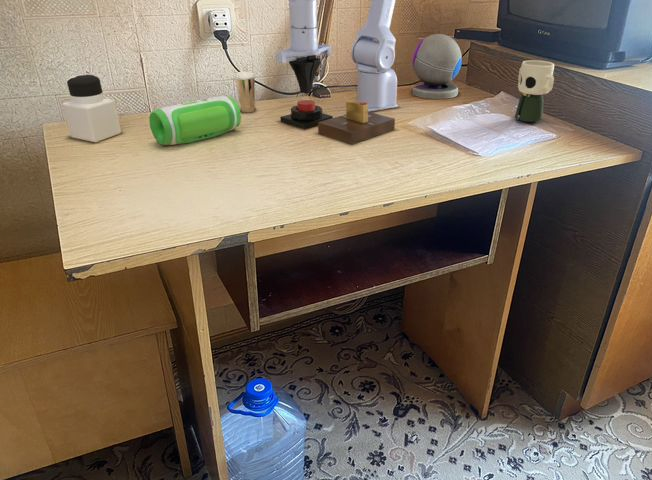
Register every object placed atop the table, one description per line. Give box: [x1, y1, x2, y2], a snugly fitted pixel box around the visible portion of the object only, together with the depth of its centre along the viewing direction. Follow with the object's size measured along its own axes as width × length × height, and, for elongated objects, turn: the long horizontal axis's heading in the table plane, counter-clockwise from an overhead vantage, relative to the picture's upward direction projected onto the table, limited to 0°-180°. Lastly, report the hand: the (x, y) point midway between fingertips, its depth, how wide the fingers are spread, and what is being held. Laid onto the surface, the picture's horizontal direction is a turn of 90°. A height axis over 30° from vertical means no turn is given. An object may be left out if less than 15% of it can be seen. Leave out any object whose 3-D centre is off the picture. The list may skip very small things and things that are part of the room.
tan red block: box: [345, 99, 368, 123], centre depth 118 cm, size 5×2×4 cm, turn 47°
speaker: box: [149, 95, 242, 146], centre depth 113 cm, size 18×7×8 cm, turn 134°
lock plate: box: [317, 111, 396, 145], centre depth 119 cm, size 14×10×3 cm
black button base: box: [280, 104, 334, 130], centre depth 125 cm, size 9×8×3 cm
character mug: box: [514, 59, 555, 123], centre depth 126 cm, size 11×7×13 cm, turn 26°
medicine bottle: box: [61, 74, 122, 143], centre depth 112 cm, size 7×7×12 cm
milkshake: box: [234, 64, 256, 113], centre depth 130 cm, size 4×5×10 cm
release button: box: [296, 99, 316, 111], centre depth 124 cm, size 4×4×2 cm
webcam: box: [412, 33, 463, 100], centre depth 146 cm, size 13×13×15 cm
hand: (305, 92), depth 122 cm, fingers closed
